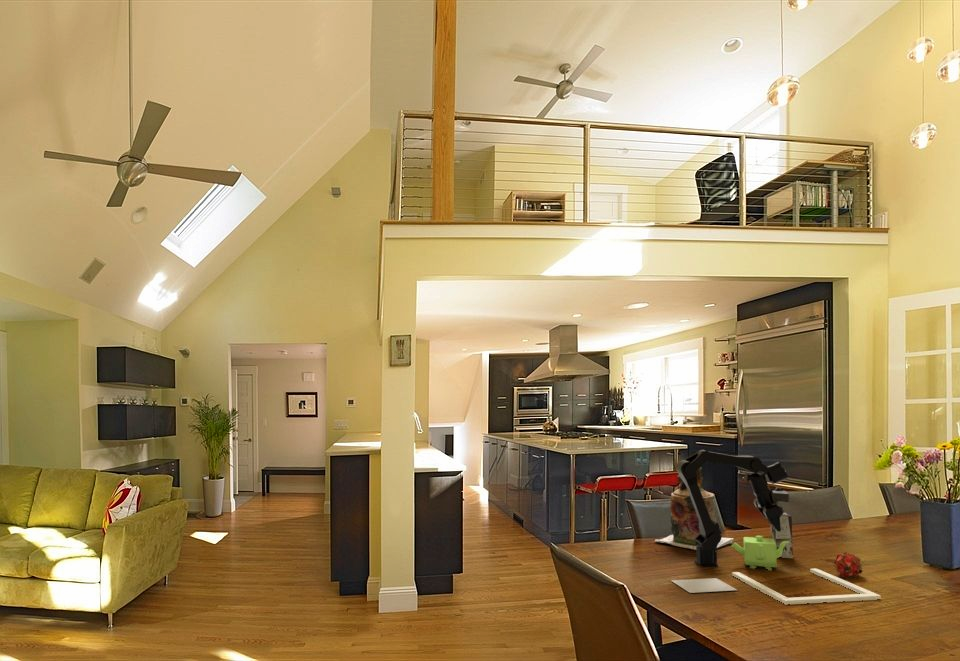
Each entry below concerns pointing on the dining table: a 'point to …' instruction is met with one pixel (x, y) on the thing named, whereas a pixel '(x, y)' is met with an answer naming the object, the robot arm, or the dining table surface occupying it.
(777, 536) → the coffee box
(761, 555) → the kettle
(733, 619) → the dining table surface
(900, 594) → the dining table surface
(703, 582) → the paper stack
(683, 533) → the cookie jar
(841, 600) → the kettle dock outline
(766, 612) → the dining table surface
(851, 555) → the dragon fruit
